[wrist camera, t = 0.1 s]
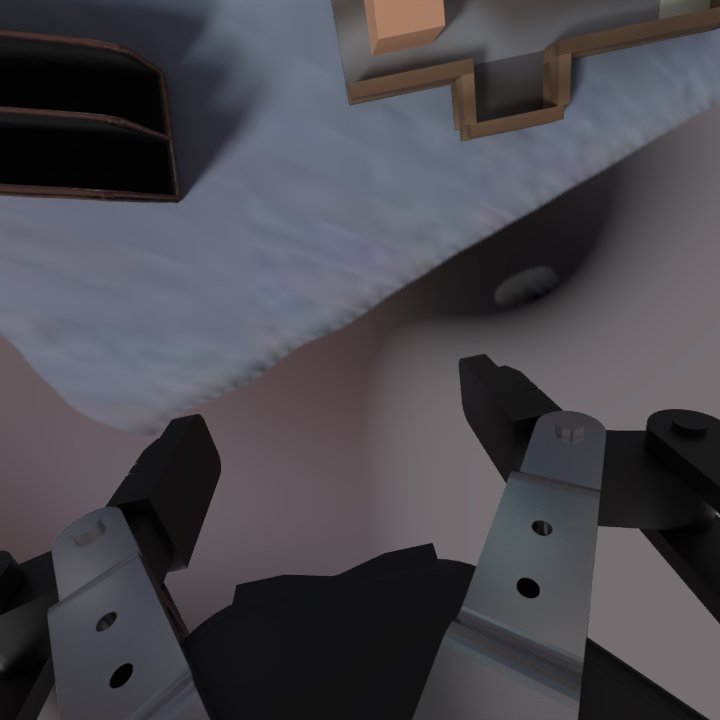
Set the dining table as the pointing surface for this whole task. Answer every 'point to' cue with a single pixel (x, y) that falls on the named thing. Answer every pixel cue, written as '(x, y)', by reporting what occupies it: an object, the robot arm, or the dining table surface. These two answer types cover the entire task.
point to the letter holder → (83, 121)
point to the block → (403, 23)
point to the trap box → (509, 53)
